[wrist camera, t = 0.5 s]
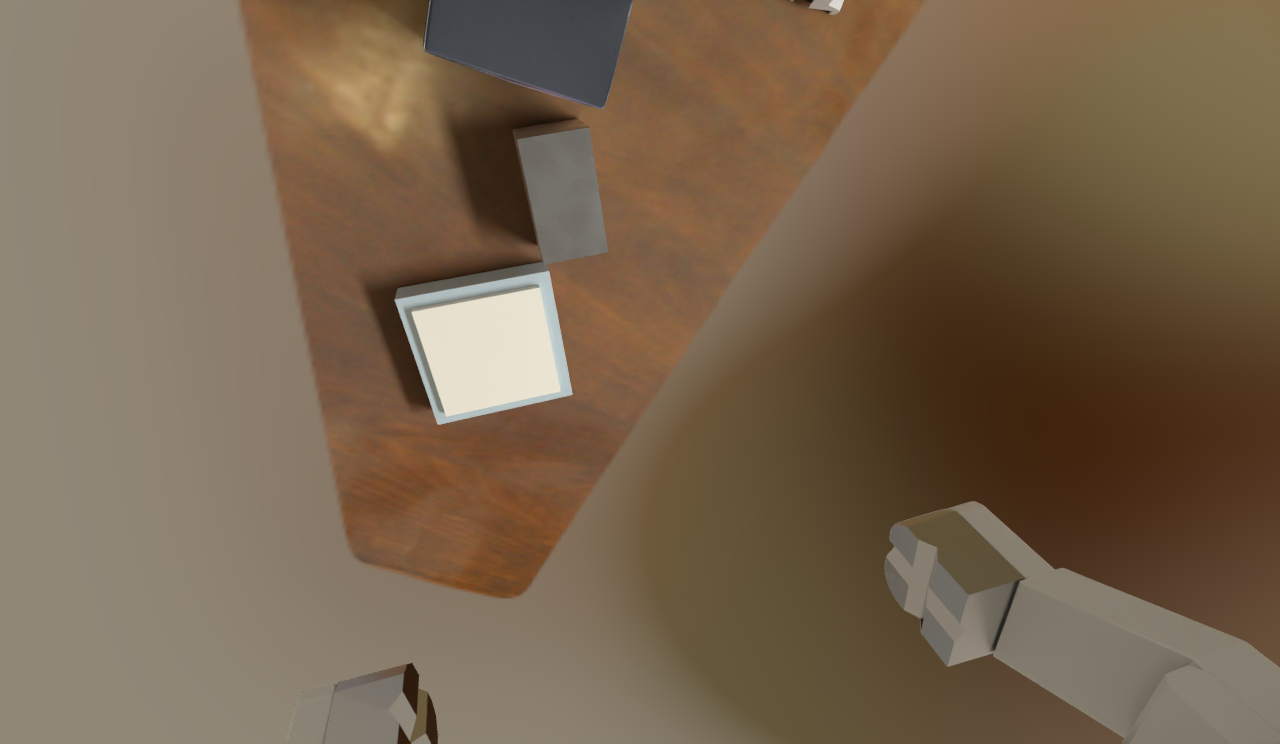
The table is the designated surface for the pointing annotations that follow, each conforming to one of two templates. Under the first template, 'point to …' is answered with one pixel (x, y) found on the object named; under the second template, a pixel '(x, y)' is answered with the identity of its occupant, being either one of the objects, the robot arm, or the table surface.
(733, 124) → the table surface
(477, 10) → the small box
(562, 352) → the stand
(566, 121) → the block
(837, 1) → the white slotted block
